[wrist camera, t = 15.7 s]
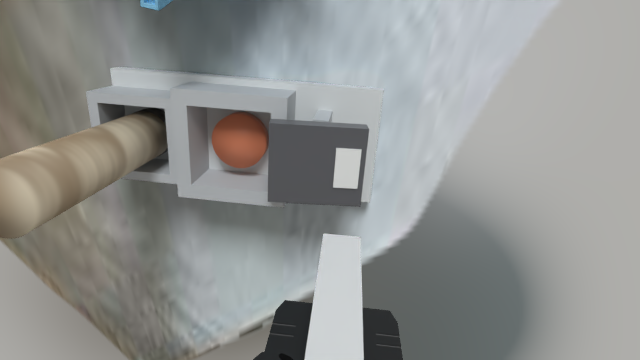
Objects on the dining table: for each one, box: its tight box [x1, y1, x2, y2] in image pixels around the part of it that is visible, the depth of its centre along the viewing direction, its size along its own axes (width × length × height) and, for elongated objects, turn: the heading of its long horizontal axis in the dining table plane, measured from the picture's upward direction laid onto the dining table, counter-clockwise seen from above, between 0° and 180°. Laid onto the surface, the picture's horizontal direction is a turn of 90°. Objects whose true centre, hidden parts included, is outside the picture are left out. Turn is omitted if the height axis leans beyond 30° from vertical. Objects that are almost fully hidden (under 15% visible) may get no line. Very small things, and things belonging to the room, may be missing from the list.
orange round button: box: [212, 112, 269, 168], centre depth 33 cm, size 5×5×1 cm
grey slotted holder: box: [86, 67, 384, 208], centre depth 33 cm, size 23×10×6 cm, turn 86°
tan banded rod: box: [0, 108, 168, 239], centre depth 27 cm, size 4×4×16 cm
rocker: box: [268, 119, 369, 207], centre depth 28 cm, size 7×6×2 cm
